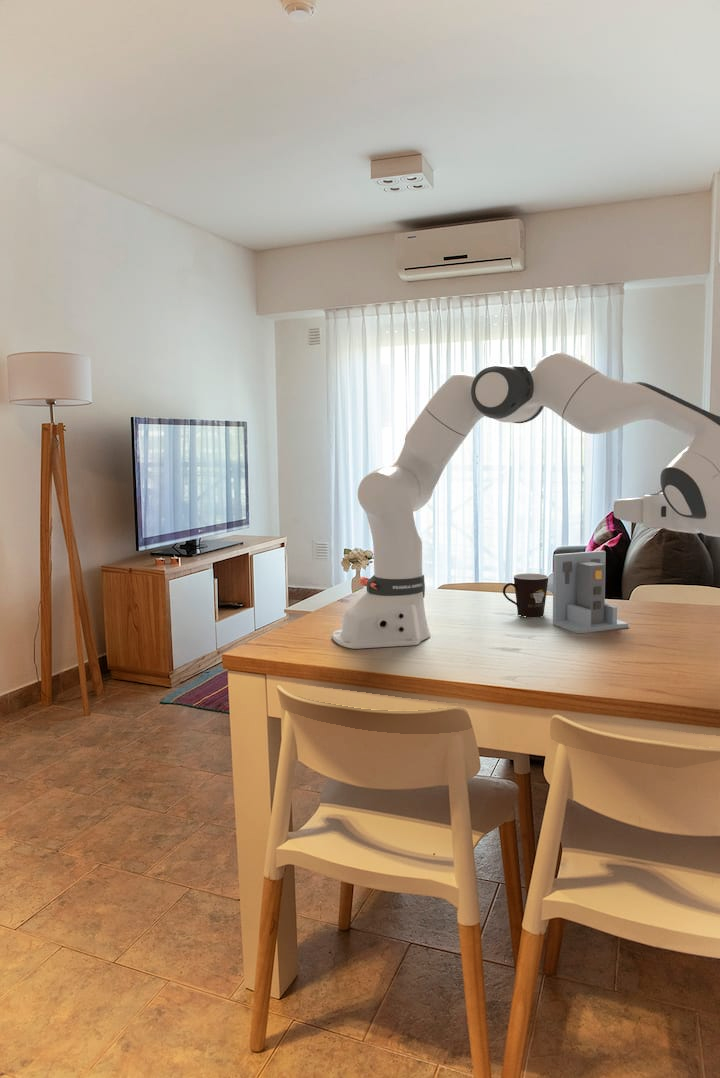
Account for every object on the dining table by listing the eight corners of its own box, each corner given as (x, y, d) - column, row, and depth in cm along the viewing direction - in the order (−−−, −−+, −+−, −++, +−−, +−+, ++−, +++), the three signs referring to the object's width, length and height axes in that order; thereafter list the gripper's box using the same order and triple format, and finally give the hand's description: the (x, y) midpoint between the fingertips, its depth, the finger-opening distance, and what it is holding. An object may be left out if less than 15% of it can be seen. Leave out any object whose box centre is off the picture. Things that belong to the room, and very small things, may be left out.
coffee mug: (545, 611, 193) (545, 573, 192) (550, 619, 185) (550, 579, 183) (500, 611, 194) (500, 573, 193) (503, 618, 186) (503, 579, 185)
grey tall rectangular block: (590, 625, 173) (591, 566, 172) (576, 620, 179) (577, 562, 177) (605, 623, 175) (606, 564, 173) (590, 618, 180) (591, 561, 178)
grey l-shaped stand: (577, 633, 170) (578, 560, 168) (552, 624, 180) (553, 554, 177) (628, 627, 175) (629, 555, 173) (601, 618, 184) (602, 550, 182)
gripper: (725, 491, 149) (675, 488, 162) (642, 495, 143) (596, 492, 156) (724, 522, 150) (674, 516, 163) (641, 528, 143) (596, 522, 156)
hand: (636, 504), depth 159 cm, fingers open, 8 cm apart
